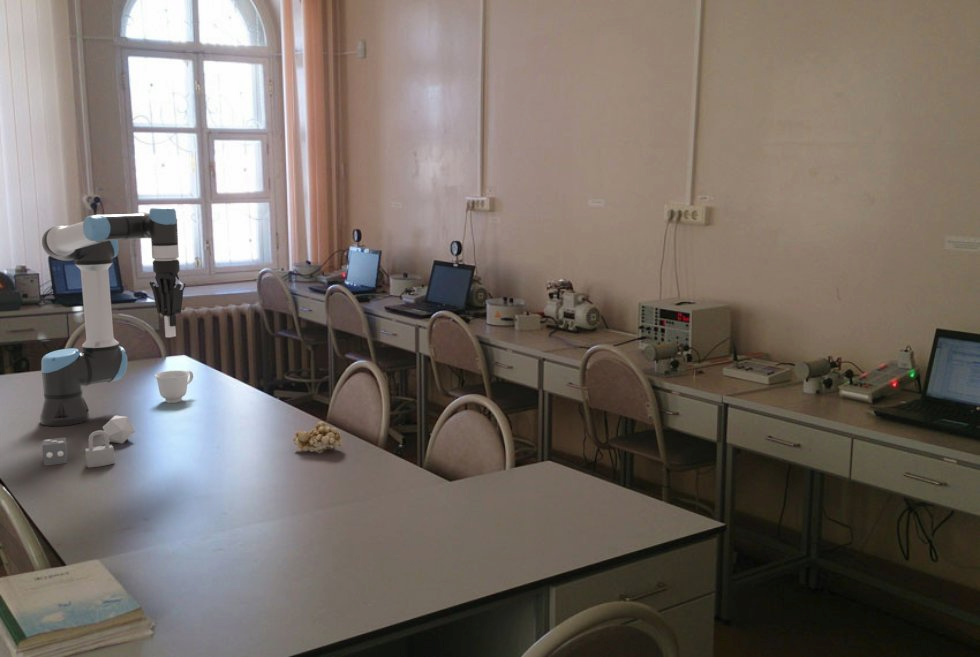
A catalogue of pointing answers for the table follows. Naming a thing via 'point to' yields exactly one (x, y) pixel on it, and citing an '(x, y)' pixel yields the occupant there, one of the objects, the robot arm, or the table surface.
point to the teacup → (173, 384)
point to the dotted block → (54, 451)
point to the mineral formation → (318, 439)
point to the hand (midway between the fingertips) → (170, 336)
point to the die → (118, 429)
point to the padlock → (99, 452)
